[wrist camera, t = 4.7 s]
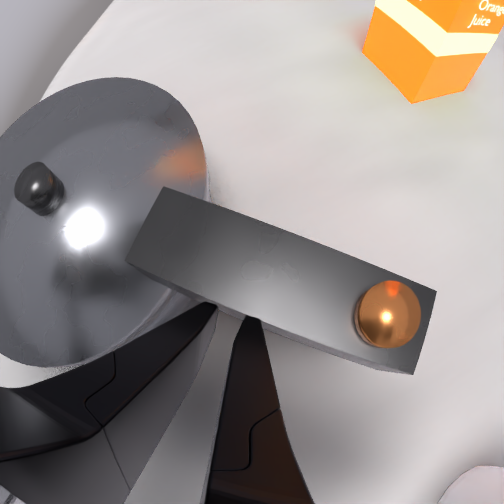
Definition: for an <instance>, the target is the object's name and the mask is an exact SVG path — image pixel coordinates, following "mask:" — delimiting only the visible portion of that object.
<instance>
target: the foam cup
mask: <svg viewBox="0 0 504 504" xmlns="http://www.w3.org/2000/svg"><path fill="white" fill-rule="evenodd" d="M437 504H504V467H497V466H489V465H486V466H476V467H474V468H472V469H471V470H469V471H467V472H465V473H463V474H462V475H461V476H460V477H459V478H458V479H457V480H455V481H454V482H453V483H452V484H451V485H450V486H449V487H448V488H447V490H446V491H445V493H444V495H443V496H442V498H441V499H440V501H439V502H438V503H437Z"/></svg>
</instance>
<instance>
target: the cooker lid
mask: <svg viewBox="0 0 504 504" xmlns="http://www.w3.org/2000/svg"><path fill="white" fill-rule="evenodd" d="M176 292H178V293H181V294H183V295H185V296H187V297H190V298H192V299H194V300H196V301H199V302H201V303H202V302H204V301H207V302H210V303H213V304H216V305H217V306H218V310H220V311H222V312H224V313H227V314H229V315H231V316H234V317H236V318H239V319H241V320H244V317H245V316H246V315H249V316H252V317H256V318H259V319H260V320H261V323H262V328H263V329H266V330H268V331H271V332H273V333H276V334H279V335H281V336H284V337H286V338H289V339H292V340H294V341H297V342H300V343H302V344H305V345H308V346H310V347H313V348H316V349H318V350H321V351H324V352H327V353H329V354H332V355H335V356H338V357H341V358H344V359H346V360H349V361H352V362H355V363H358V364H361V365H364V366H367V367H370V368H373V369H376V370H381V371H388V372H395V373H402V374H410V375H413V374H414V371H415V368H416V365H417V362H418V359H419V356H420V352H421V349H422V346H423V342H424V339H425V336H426V332H427V328H428V325H429V321H430V317H431V313H432V309H433V305H434V301H435V297H436V292H437V291H435V290H433V289H430V288H428V287H426V286H423V285H421V284H419V283H416V282H414V281H411V280H409V279H407V278H404V277H402V276H399V275H397V274H395V273H392V272H390V271H387V270H385V269H382V268H380V267H377V266H375V265H372V264H370V263H368V262H365V261H363V260H360V259H358V258H355V257H353V256H350V255H348V254H345V253H343V252H340V251H337V250H335V249H332V248H330V247H327V246H325V245H322V244H320V243H317V242H314V241H312V240H309V239H307V238H304V237H302V236H299V235H296V234H294V233H291V232H288V231H286V230H283V229H281V228H278V227H275V226H273V225H270V224H267V223H265V222H262V221H259V220H257V219H254V218H251V217H248V216H246V215H243V214H240V213H238V212H235V211H232V210H229V209H227V208H224V207H221V206H218V205H216V204H213V203H210V202H209V174H208V167H207V161H206V157H205V153H204V149H203V145H202V142H201V139H200V136H199V133H198V130H197V127H196V126H195V124H194V122H193V120H192V118H191V116H190V115H189V113H188V112H187V111H186V109H185V108H184V107H183V106H182V104H181V103H180V102H179V101H178V100H176V99H175V98H174V97H173V96H172V95H171V94H169V93H168V92H166V91H165V90H163V89H161V88H159V87H158V86H155V85H153V84H150V83H148V82H145V81H141V80H136V79H131V78H119V77H114V78H101V79H95V80H90V81H86V82H82V83H79V84H76V85H73V86H70V87H68V88H65V89H63V90H60V91H58V92H57V93H55V94H53V95H51V96H49V97H47V98H45V99H44V100H42V101H41V102H39V103H38V104H36V105H35V106H33V107H32V108H31V109H29V110H28V111H27V112H26V113H24V114H23V115H22V116H21V117H20V118H19V119H17V121H15V122H14V123H13V124H12V125H11V126H10V127H9V128H8V129H7V130H6V132H5V133H4V134H3V135H2V136H1V137H0V353H1V354H3V355H4V356H6V357H8V358H10V359H11V360H14V361H17V362H19V363H22V364H25V365H30V366H37V367H67V366H77V365H81V364H85V363H89V362H91V361H93V360H95V359H97V358H99V357H101V356H103V355H105V354H107V353H109V352H111V351H114V350H115V349H117V348H119V347H121V346H123V345H124V344H126V343H128V342H130V341H132V340H133V339H134V338H136V337H137V336H138V335H139V334H140V333H141V332H143V331H144V330H145V329H146V328H147V327H148V326H150V324H151V323H152V322H153V321H154V320H155V319H156V318H157V317H158V316H159V314H160V313H161V312H162V311H163V310H164V309H165V308H166V306H167V305H168V303H169V302H170V301H171V299H172V298H173V296H174V295H175V293H176Z"/></svg>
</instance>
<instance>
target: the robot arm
mask: <svg viewBox="0 0 504 504" xmlns="http://www.w3.org/2000/svg"><path fill="white" fill-rule="evenodd" d="M217 314H218V306H217V305H216V304H213V303H210V302H207V301H204V302H202V303H200V304H198V305H196V306H195V307H193V308H191V309H189V310H187V311H185V312H184V313H182V314H180V315H178V316H176V317H174V318H173V319H171V320H169V321H167V322H165V323H163V324H162V325H160V326H158V327H156V328H154V329H152V330H151V331H149V332H147V333H145V334H143V335H141V336H139V337H137V338H136V339H134V340H132V341H130V342H128V343H126V344H124V345H123V346H121V347H119V348H117V349H115V350H114V351H111V352H109V353H107V354H105V355H103V356H101V357H99V358H97V359H95V360H93V361H91V362H89V363H87V364H85V365H82V366H80V367H78V368H75V369H73V370H70V371H68V372H65V373H63V374H60V375H57V376H55V377H52V378H49V379H47V380H44V381H41V382H38V383H36V384H33V385H30V386H26V387H21V388H4V387H0V504H123V503H124V502H125V500H126V498H127V496H128V495H129V493H130V490H131V489H132V488H133V486H134V484H135V483H136V481H137V479H138V477H139V476H140V474H141V472H142V471H143V469H144V467H145V465H146V464H147V462H148V460H149V458H150V457H151V455H152V453H153V451H154V450H155V448H156V446H157V445H158V443H159V441H160V439H161V438H162V436H163V434H164V432H165V431H166V429H167V427H168V425H169V424H170V422H171V420H172V418H173V417H174V415H175V413H176V411H177V410H178V408H179V406H180V404H181V403H182V401H183V399H184V397H185V396H186V394H187V392H188V390H189V388H190V387H191V385H192V383H193V381H194V379H195V377H196V375H197V373H198V371H199V369H200V366H201V364H202V361H203V359H204V356H205V353H206V351H207V348H208V346H209V343H210V341H211V338H212V336H213V333H214V330H215V326H216V320H217ZM200 504H315V503H314V501H313V499H312V497H311V495H310V492H309V490H308V487H307V485H306V483H305V480H304V478H303V475H302V473H301V470H300V468H299V465H298V463H297V460H296V458H295V456H294V453H293V450H292V447H291V444H290V442H289V439H288V435H287V432H286V428H285V424H284V420H283V416H282V412H281V410H280V403H279V399H278V395H277V390H276V386H275V381H274V377H273V372H272V368H271V363H270V359H269V355H268V350H267V346H266V341H265V337H264V332H263V328H262V323H261V320H260V319H259V318H256V317H252V316H249V315H246V316H245V317H244V320H243V322H242V324H241V326H240V329H239V331H238V333H237V335H236V337H235V340H234V343H233V347H232V352H231V356H230V361H229V365H228V370H227V374H226V379H225V383H224V388H223V392H222V397H221V402H220V407H219V412H218V417H217V422H216V427H215V432H214V437H213V442H212V447H211V452H210V457H209V462H208V467H207V472H206V477H205V482H204V487H203V492H202V496H201V501H200Z"/></svg>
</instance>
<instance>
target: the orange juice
mask: <svg viewBox="0 0 504 504" xmlns="http://www.w3.org/2000/svg"><path fill="white" fill-rule="evenodd" d="M503 25H504V0H376V2H375V8H374V12H373V16H372V19H371V23H370V27H369V30H368V34H367V37H366V41H365V44H364V48H363V51H362V53H363V54H364V55H365V56H366V57H367V58H368V59H369V60H370V61H372V62H373V63H374V64H375V65H376V66H377V67H378V68H379V69H380V70H381V71H382V72H383V74H384V75H385V76H386V77H387V78H388V79H389V80H390V81H391V82H392V83H393V84H394V85H395V86H396V87H397V88H398V89H399V90H400V92H401V93H402V94H403V95H404V96H405V97H406V98H407V99H408V101H409V102H410V103H411V104H413V103H417V102H420V101H424V100H428V99H432V98H435V97H439V96H443V95H447V94H451V93H456V92H460V91H464V89H465V88H466V86H467V85H468V83H469V82H470V80H471V78H472V77H473V75H474V74H475V72H476V71H477V69H478V67H479V66H480V64H481V62H482V61H483V59H484V58H485V56H486V54H487V53H488V52H489V50H490V49H491V47H492V45H493V43H494V42H495V40H496V38H497V37H498V34H499V32H500V30H501V28H502V27H503Z"/></svg>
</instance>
